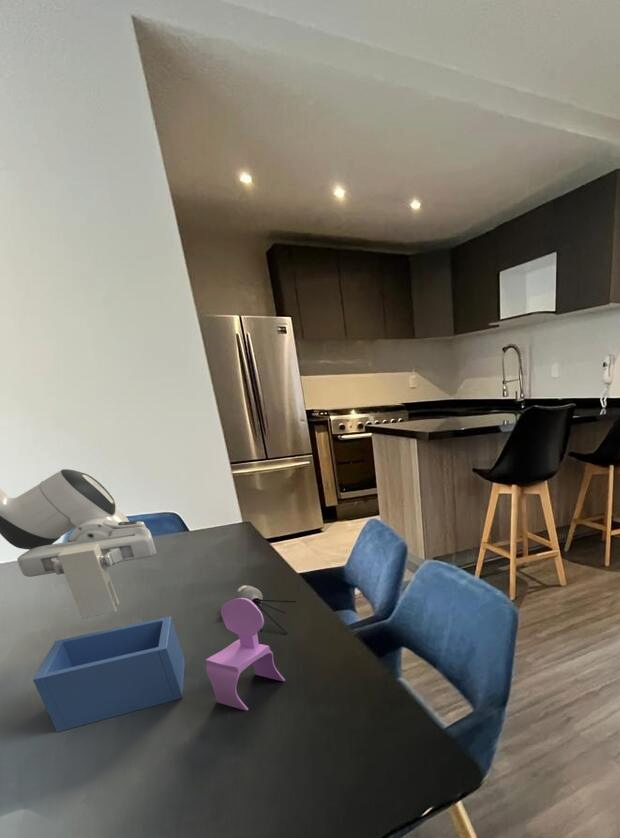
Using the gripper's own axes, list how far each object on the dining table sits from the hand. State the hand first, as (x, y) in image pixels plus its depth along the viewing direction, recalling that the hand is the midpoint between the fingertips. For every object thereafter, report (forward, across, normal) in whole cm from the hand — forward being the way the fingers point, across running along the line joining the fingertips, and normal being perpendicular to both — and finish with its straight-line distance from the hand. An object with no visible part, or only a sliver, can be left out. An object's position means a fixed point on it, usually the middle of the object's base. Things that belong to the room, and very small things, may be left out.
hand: (83, 565), depth 82 cm
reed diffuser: (-2, +25, +18) cm, 31 cm away
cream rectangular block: (-1, 0, +9) cm, 9 cm away
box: (+14, +3, +18) cm, 23 cm away
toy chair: (+24, +21, +18) cm, 37 cm away
